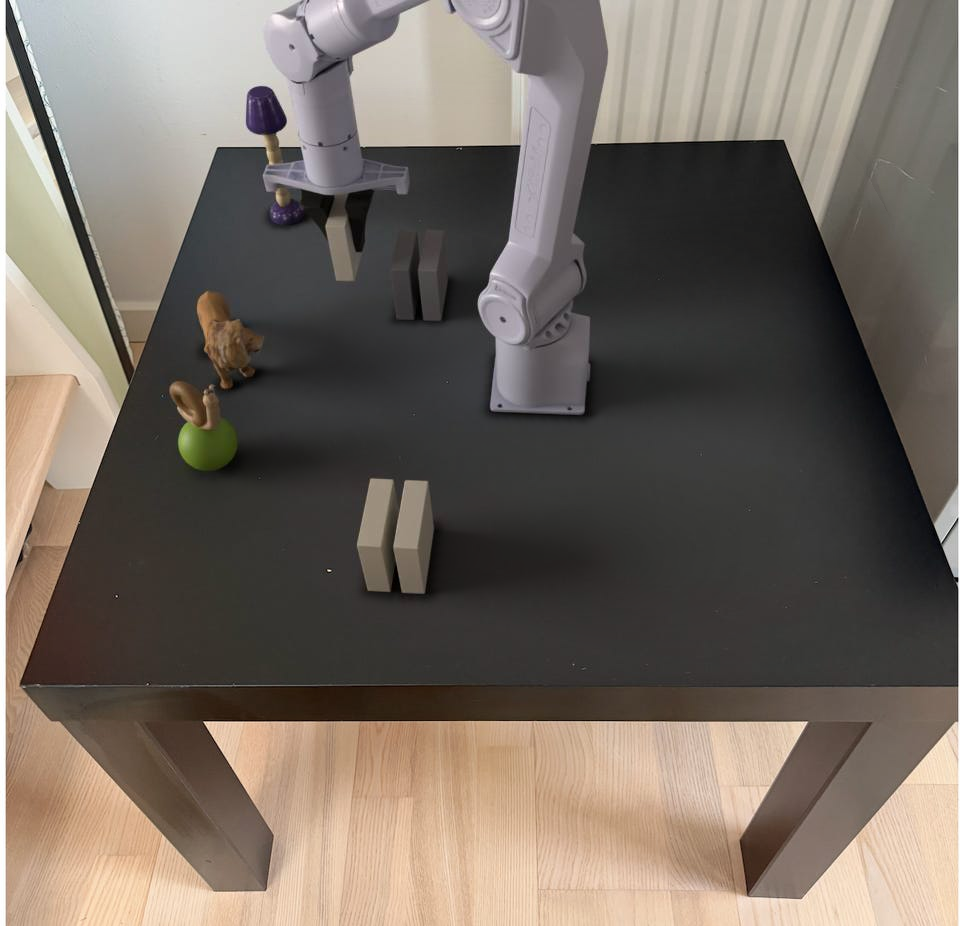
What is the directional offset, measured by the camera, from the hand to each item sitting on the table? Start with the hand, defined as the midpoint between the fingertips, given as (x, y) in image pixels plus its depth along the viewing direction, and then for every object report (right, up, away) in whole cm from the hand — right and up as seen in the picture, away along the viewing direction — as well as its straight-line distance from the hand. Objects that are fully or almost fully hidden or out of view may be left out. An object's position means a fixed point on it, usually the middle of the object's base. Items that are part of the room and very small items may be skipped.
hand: (348, 246), depth 98 cm
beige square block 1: (+6, -32, -17) cm, 37 cm away
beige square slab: (0, -1, +1) cm, 2 cm away
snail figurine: (-11, -23, -9) cm, 28 cm away
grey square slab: (+6, -5, +5) cm, 9 cm away
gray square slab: (+9, -5, +5) cm, 12 cm away
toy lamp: (-10, +7, +16) cm, 21 cm away
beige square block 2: (+9, -32, -17) cm, 37 cm away
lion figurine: (-12, -13, 0) cm, 18 cm away
